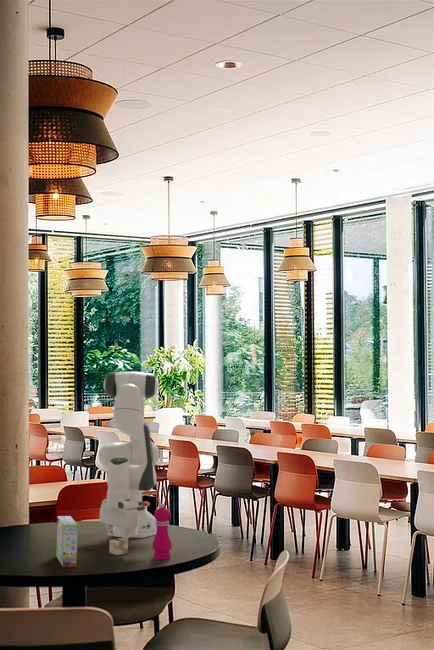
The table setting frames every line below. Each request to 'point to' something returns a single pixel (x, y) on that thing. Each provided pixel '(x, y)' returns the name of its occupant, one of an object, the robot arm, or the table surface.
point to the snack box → (67, 541)
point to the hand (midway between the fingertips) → (117, 537)
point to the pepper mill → (162, 534)
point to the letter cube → (118, 546)
